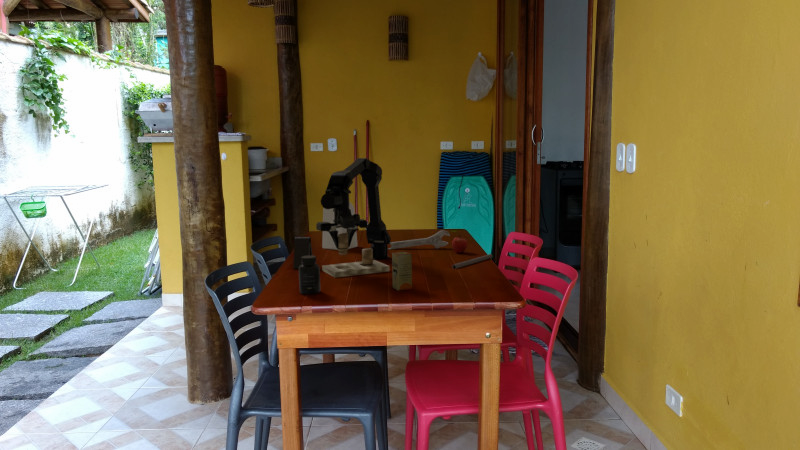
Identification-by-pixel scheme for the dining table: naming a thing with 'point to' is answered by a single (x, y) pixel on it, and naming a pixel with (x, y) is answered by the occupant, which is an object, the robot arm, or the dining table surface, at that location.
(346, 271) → the birch board
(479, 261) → the metal rod
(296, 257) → the phone stand
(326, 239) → the milk
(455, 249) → the apple
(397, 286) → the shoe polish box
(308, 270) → the supplement bottle
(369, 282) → the dining table surface
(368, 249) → the seated peg
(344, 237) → the oak peg
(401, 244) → the wrench
